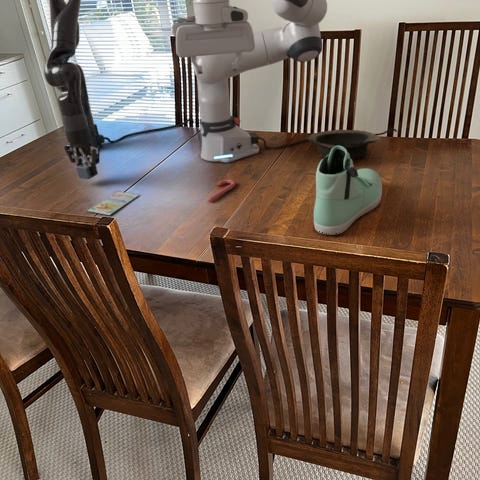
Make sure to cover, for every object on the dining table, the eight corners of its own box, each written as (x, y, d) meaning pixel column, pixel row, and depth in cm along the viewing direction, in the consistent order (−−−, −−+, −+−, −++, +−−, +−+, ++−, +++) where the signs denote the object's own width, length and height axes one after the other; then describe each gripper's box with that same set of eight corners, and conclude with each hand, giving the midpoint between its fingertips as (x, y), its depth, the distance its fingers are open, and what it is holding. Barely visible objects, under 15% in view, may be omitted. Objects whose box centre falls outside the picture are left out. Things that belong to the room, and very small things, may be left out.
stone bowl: (336, 174, 158) (335, 147, 154) (295, 157, 179) (293, 133, 174) (394, 156, 167) (394, 130, 163) (348, 141, 187) (348, 118, 183)
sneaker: (389, 187, 148) (396, 123, 138) (356, 242, 123) (361, 168, 112) (346, 181, 154) (350, 119, 144) (306, 232, 129) (307, 161, 118)
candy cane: (196, 199, 151) (195, 195, 150) (224, 181, 161) (224, 177, 160) (211, 203, 148) (210, 199, 147) (239, 184, 158) (238, 180, 157)
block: (79, 178, 165) (76, 166, 162) (88, 172, 168) (85, 161, 166) (88, 179, 163) (85, 168, 161) (98, 174, 166) (95, 162, 164)
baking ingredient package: (86, 209, 148) (117, 190, 160) (87, 211, 148) (117, 191, 160) (109, 214, 145) (139, 194, 156) (109, 215, 145) (139, 195, 156)
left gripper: (51, 128, 157) (65, 177, 165) (85, 131, 151) (97, 181, 160) (67, 121, 162) (80, 168, 171) (100, 124, 156) (111, 173, 165)
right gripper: (170, 19, 116) (178, 78, 123) (254, 12, 117) (256, 71, 124) (171, 16, 121) (178, 73, 129) (251, 9, 122) (253, 66, 130)
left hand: (88, 174), depth 165 cm, fingers closed on block, 4 cm apart
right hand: (217, 72), depth 126 cm, fingers open, 8 cm apart
